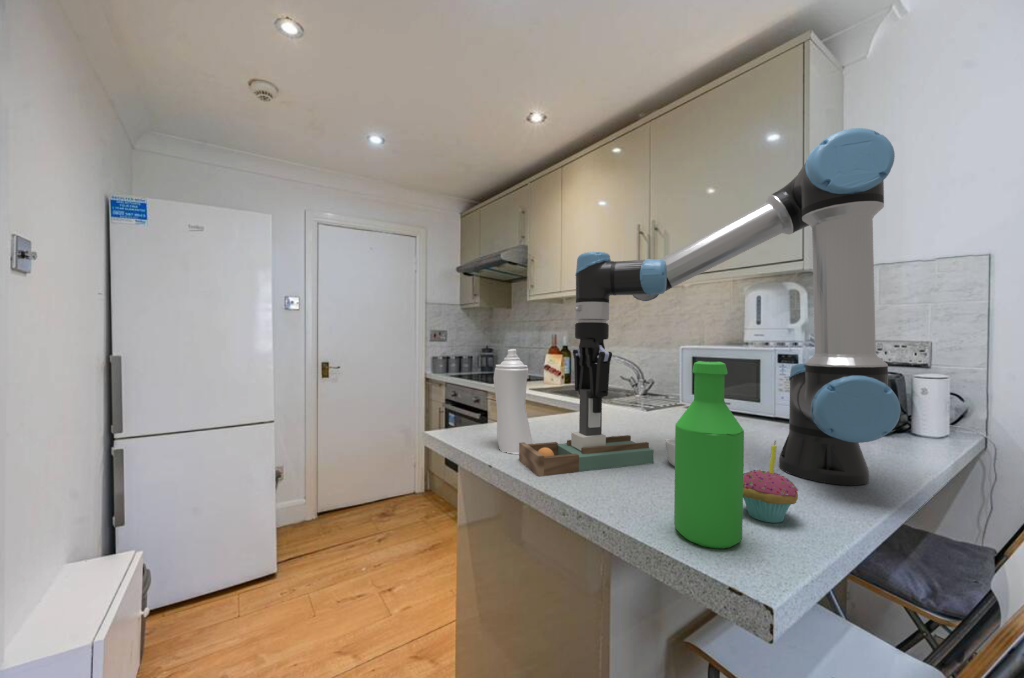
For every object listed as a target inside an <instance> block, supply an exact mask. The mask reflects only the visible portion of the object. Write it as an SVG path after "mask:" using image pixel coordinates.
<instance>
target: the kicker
mask: <svg viewBox="0 0 1024 678" xmlns="http://www.w3.org/2000/svg"><path fill="white" fill-rule="evenodd" d="M588 396H591V389H580V395H579V415H578V419H579V422H578V423H579V429H578V430H579V431H573V432H570V433H571V437H570V440H571V445H572V446H573V447H575V448H577V449H579V450H581V448H585V447H596V446H606V437H607V436H606V434H604V433H602V432H603V431H602V425H603V424H602V421H603V420H602V419H603V418H602V417H603V414H602V413H603V412H602V411H603V410H602V409H603V398H602V399H601V421H600V427H593V428H589V427H588V403H589V398H588Z"/></svg>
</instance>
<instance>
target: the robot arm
mask: <svg viewBox="0 0 1024 678" xmlns="http://www.w3.org/2000/svg"><path fill="white" fill-rule="evenodd" d="M895 157H896V156H895V150H894V146H893V145H892V142H891V141H890V140H889V139H888V138H887V137H886V136H885V135H883V134H881V133H880V132H878V131H876V130H873V129H869V128H863V127H861V128H860V127H856V128H853V127H852V128H848V129H847V128H846V129H843V130H840V131H838V132H837V131H836V132H835V133H833V134H831V135H829V136H827V137H826V138H824V139H823V140H822V141H821V142H819V144H817V145H816V147H814V148H813V149H812V150H811V152H809V154H808V156H807V158H806V161H805V163H804V164H803V166H802V168H801V169H800V170H799V172H798V173H797V175H795V177H794V178H793V179H792V180H791V181H790V182H789V183H787V184H786V185H785V186H783V187H782V188H780V189H779V190H777V191H775V192H774V193H771V194H770V195H768V196H767V199H766V202H765V203H763V204H761V205H759V206H757V207H755V208H753V209H752V210H750V211H747V212H746V213H744V214H742V215H740V216H739V217H736V218H735V219H732V220H730V221H729V222H727V223H725V224H723V225H722V226H719V227H717V228H716V229H714V230H712V231H710V232H708V233H706V234H704V235H702V236H700V237H699V238H697V239H695V240H693V241H692V242H689V243H687V244H685V245H683V246H682V247H680V248H678V249H676V250H674V251H671V252H670V253H669V254H667V255H665V256H663V257H661V258H660V259H659V258H658V259H654V258H653V259H652V258H647V259H635V260H622V261H618V260H617V261H614V260H611V256H610V254H609V253H607V252H605V251H604V252H603V251H588V252H584V253H581V254H579V255H578V257H577V260H576V270H575V307H574V311H575V321H577V322H575V324H574V339H576V340H579V345H578V348H577V349H573V350H572V355H573V360H574V361H573V365H574V367H573V369H574V391H575V392H578V395H579V396H580V389H591V396H588V398H589V403H588V427H589V428H593V427H600V421H601V399H602V400H603V398H604V397H607V396H609V395H608V394H609V383H610V367H611V366H610V365H611V361H612V358H613V353H612V351H607V350H606V349H605V348H606V347H605V343H604V342H605V340H608V339H609V335H610V334H609V333H610V332H609V329H610V327H609V325H610V324H609V323H608V322H607V321H609V320H610V296H633V298H635V299H636V300H638V301H642V302H649V301H652V300H654V299H656V298H658V296H660V295H662V294H664V293H665V292H667V291H669V290H670V289H672V288H674V287H676V286H678V285H680V284H682V283H684V282H686V281H689V280H690V279H692V278H694V277H696V276H699V275H700V274H702V273H705V272H706V271H709V270H711V269H712V268H715V267H717V266H718V265H720V264H723V263H724V262H727V261H728V260H730V259H733V258H735V257H736V256H738V255H741V254H743V253H744V252H747V251H749V250H751V249H753V248H755V247H758V246H759V245H761V244H763V243H765V242H767V241H769V240H771V239H773V238H776V237H777V236H779V235H781V234H785V235H793V234H794V233H796V232H798V231H800V230H802V229H804V228H806V227H809V226H810V227H811V234H812V235H811V236H812V237H811V238H812V241H811V242H812V277H813V278H812V280H813V281H812V284H813V289H812V290H813V323H814V326H813V327H814V328H813V329H814V330H813V331H814V354H813V356H812V357H810V358H809V359H808V360H807V361H806V362H805V363H804V362H803V363H796V364H795V365H793V366H791V368H790V373H789V375H790V376H789V378H788V380H789V415H788V416H789V417H788V418H789V419H788V420H789V421H788V422H789V425H788V427H789V428H788V429H789V431H788V435H787V437H786V440H785V442H784V444H783V447H782V450H781V451H780V454H779V457H778V461H779V462H778V467H779V468H780V469H781V470H782V471H784V472H785V473H788V474H790V475H793V476H795V477H798V478H802V479H805V480H811V481H814V482H818V483H819V482H820V483H825V484H832V485H840V486H842V485H843V486H860V485H861V486H862V485H866V484H868V483H869V481H870V470H869V467H868V465H867V461H866V459H865V457H864V454H863V450H862V449H861V446H860V444H861V443H868V442H874V441H877V440H879V439H881V438H883V437H885V436H886V435H889V434H890V433H891V432H892V431H893V429H895V427H896V426H897V424H898V422H899V421H900V417H901V411H902V410H901V403H900V400H899V397H898V396H897V394H896V393H895V392H894V391H893V389H892V388H891V386H889V368H888V367H889V365H888V363H887V362H886V361H884V360H883V359H882V358H880V357H879V356H878V354H877V353H876V352H877V351H876V350H877V349H876V316H875V315H876V314H875V313H876V308H875V269H874V262H875V261H874V259H875V258H874V227H873V224H874V220H873V219H874V217H875V216H876V215H877V214H878V213H879V212H880V211H882V209H884V207H885V190H884V189H885V187H884V186H885V184H884V182H885V181H884V180H885V179H886V178H887V177H888V176H889V175H890V172H891V171H892V170H891V169H892V168H893V165H894V163H895V159H896V158H895ZM859 443H860V444H859Z"/></svg>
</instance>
